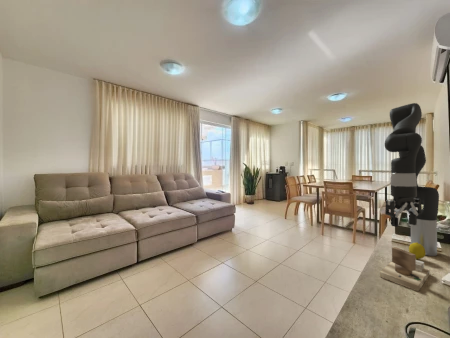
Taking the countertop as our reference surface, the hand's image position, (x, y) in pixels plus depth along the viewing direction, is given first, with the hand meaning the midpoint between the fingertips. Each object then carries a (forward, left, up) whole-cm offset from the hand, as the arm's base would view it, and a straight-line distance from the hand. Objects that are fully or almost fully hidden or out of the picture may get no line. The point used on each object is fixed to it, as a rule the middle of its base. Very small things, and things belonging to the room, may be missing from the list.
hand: (403, 225), depth 75 cm
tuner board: (-2, 0, -21) cm, 21 cm away
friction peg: (0, 0, -19) cm, 19 cm away
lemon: (-24, -1, -21) cm, 32 cm away
